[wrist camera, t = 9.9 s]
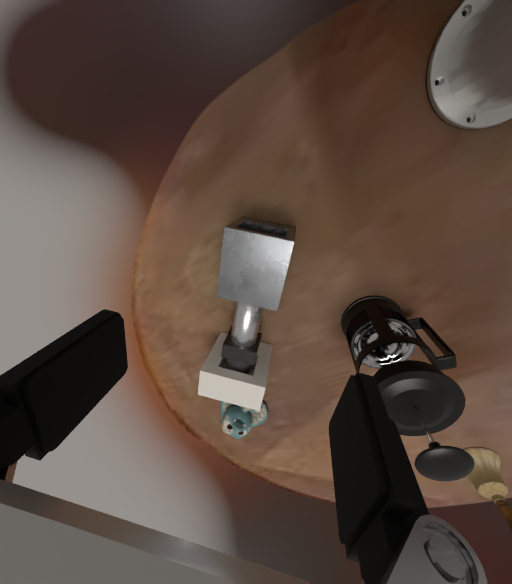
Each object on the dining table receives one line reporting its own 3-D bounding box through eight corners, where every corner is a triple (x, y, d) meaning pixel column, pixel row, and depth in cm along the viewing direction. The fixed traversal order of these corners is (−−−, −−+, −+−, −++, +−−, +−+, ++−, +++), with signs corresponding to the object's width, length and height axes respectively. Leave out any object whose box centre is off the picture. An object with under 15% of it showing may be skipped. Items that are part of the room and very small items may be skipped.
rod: (241, 262, 36) (232, 274, 31) (276, 270, 36) (272, 283, 31) (226, 361, 44) (217, 382, 39) (254, 368, 44) (248, 390, 39)
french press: (344, 350, 43) (384, 505, 22) (330, 304, 40) (363, 435, 19) (418, 336, 40) (546, 503, 19) (410, 285, 37) (551, 418, 16)
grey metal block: (243, 216, 37) (224, 227, 28) (295, 227, 36) (294, 241, 27) (235, 271, 41) (216, 297, 32) (282, 282, 40) (277, 311, 31)
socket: (220, 332, 46) (200, 370, 36) (273, 344, 45) (265, 387, 36) (218, 352, 48) (197, 394, 39) (267, 365, 47) (259, 411, 38)
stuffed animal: (281, 417, 45) (249, 461, 48) (280, 392, 52) (252, 432, 55) (230, 390, 44) (201, 436, 47) (236, 368, 51) (210, 409, 54)
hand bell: (461, 442, 47) (531, 556, 33) (508, 452, 46) (602, 574, 32) (443, 468, 51) (499, 582, 36) (486, 478, 50) (562, 598, 35)
